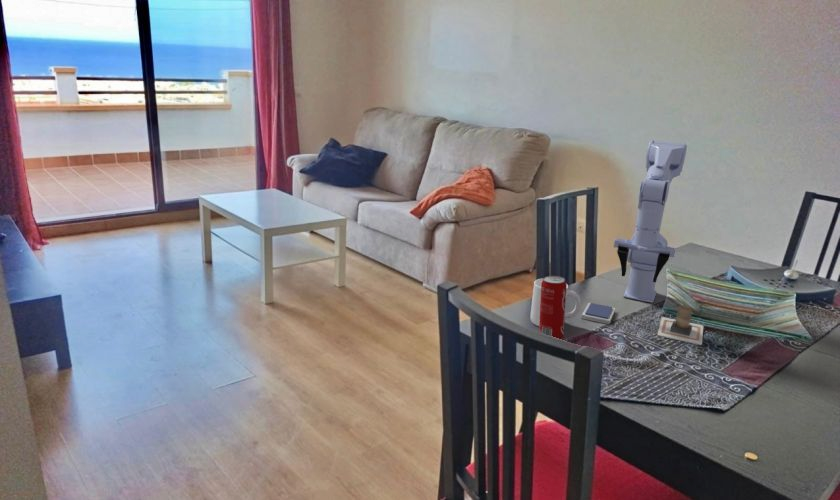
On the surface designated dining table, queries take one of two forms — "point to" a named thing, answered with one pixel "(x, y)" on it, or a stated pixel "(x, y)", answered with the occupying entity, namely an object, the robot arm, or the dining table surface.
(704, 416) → the dining table surface
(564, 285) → the beverage can
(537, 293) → the mug
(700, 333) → the sheet
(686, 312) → the stamp
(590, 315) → the ink pad
